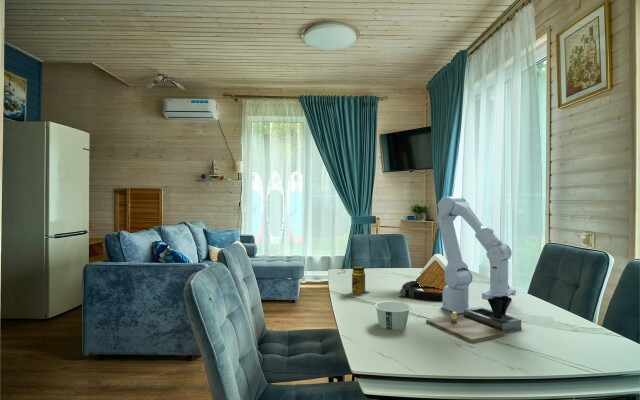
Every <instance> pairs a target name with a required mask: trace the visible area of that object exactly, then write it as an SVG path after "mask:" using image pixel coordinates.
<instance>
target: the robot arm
mask: <svg viewBox="0 0 640 400" xmlns="http://www.w3.org/2000/svg"><path fill="white" fill-rule="evenodd" d="M437 209H438V214H437V215H438V216H437V223H438V227H439V232H440V235H441V239H442V243H443V247H444V253H445V257H446V260H447V264H446V265H445V268H444V282H446V284H447V285H446V286H445V287H444V289H442V292H443V301H442V305H440V308H441V309H444V310H447V311H449V312H451V313H452V312H456V313H457V315H459V314H460V315H461V314H464V310H467V309H470V308H469V298H470V297H469V296H470V295H469V288H470V284H472V281H473V275H472V272H471V271H470V269H469V266H468V264H467V263H465V262H464V261H463V258H462V253H461V250H460V245H459V241H458V238H457V233H456V229H455V224H454V221H455V220H456V219H457V217H458V216H460V217H461V218H462V219H463V220H464V221H465V222H466V223H467V224H468V225H469V226H470V227H471V229H473V230H474V232H475V235H474V237H475V238H476V239H477V241H478V242H479V243H480V245H481V246H482V247H483V248H484V249H485V253H486V257H487V259H488V260H489V266H490V267H489V273H490V274H489V290H487V291H485V292H482V293H481V299H482V300H484V301H485V300H486V301H487V302H488V303H489V305H490V308H491V310H492V312H493V315H494V318H497V319H500V317H501V313H502V314H505V315H507V314H506V313H507V310H508V308H509V305H510V304H511V303H512V297H511V296H517V295H516V294H517V291H516V289H513V288H509V289H508V285H509V260H510V258H511V257H512V249H511V247H510V246H509V245H508V244H507V243H503V241H502V240H501V239H499V237H498V236H497V235H496V234H495V233H494V229H492V228H490V227H488V226H484V225H483V223H482V222H481V221H480V220H479V218H478V217H477V215H476V214H475V213H474V211H473V210H472V208H471V206H470V203H469V202H468V201H466V198H464V197H463V196H442V197H441V199H440V200H439V201H438V203H437Z"/></svg>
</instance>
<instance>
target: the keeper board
mask: <svg viewBox="0 0 640 400" xmlns="http://www.w3.org/2000/svg"><path fill="white" fill-rule="evenodd" d="M425 322H426V324H428V323H429V325H431V326H433V325H434V326H433V327H435V326H436V328H437V327H438V328H437V329H440V330H442V331H444V332H446V331H447V333H448V332H449V333H448V334H451V335H454V336H455V337H457V336H458V338H460V339H462V340H464V341H466V340H467V342H469V343H471V344H474V343H477V341H478V342H482V341H481V340H483V341H487V340H491V339H490V338H492V339H495V338H500V337H505V336H506V335H505V333H506V332H502V331H499V330H497V329H494V328H491V327H489V326H486V325H483V324H481V323H478V322H475V321H473V320H470V319H467V318H465V317H464V316H462V315H459V314H457V313H456V312H452V311H451V314H450V315H446V316H445V315H444V316H440V317H433V318H428V319H425ZM486 339H487V340H486Z"/></svg>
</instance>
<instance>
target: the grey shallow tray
mask: <svg viewBox="0 0 640 400" xmlns="http://www.w3.org/2000/svg"><path fill="white" fill-rule="evenodd" d="M463 317H465V318H467V319H470V320H473V321H475V322H478V323H481V324H483V325H486V326H489V327H491V328H494V329H497V330H499V331H502V332H505V333H508V332H513V331H517V330H521V329H522V319H521V318H517V317H514V316H511V315H508V314H502V313H501V317H500V319H497V318H494V315H493V312H492V309H489V308H487V307H483V306H481V307H479V306H478V307H472V308H469V309H467V310H464V313H463Z"/></svg>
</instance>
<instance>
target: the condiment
mask: <svg viewBox="0 0 640 400" xmlns="http://www.w3.org/2000/svg"><path fill="white" fill-rule="evenodd" d="M351 289H352V290H351V292H349V293H348V294H349V295H355V296H365V295H368V294H369V293H370V292H371V290H366V273H365V267H364V266H353V267H352V273H351Z"/></svg>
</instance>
